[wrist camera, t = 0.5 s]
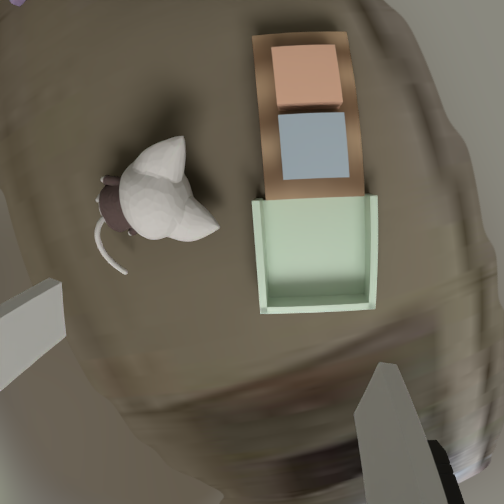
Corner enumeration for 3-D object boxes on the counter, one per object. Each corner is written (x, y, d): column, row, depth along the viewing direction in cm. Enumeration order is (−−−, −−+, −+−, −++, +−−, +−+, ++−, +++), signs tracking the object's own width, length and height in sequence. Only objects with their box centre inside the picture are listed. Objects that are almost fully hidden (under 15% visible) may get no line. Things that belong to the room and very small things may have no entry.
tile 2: (273, 57, 28) (271, 47, 25) (331, 55, 27) (334, 44, 24) (278, 110, 29) (277, 104, 26) (338, 108, 28) (342, 102, 25)
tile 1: (279, 120, 29) (277, 115, 26) (339, 117, 28) (344, 112, 25) (284, 179, 31) (283, 179, 28) (344, 176, 30) (349, 177, 27)
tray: (255, 198, 35) (251, 200, 32) (369, 193, 33) (377, 195, 30) (263, 301, 38) (260, 313, 35) (369, 297, 36) (375, 308, 33)
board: (256, 49, 31) (251, 36, 27) (341, 45, 29) (346, 31, 26) (269, 197, 35) (265, 200, 31) (357, 193, 34) (364, 196, 30)
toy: (142, 239, 43) (236, 226, 38) (109, 280, 37) (209, 276, 31) (101, 158, 36) (196, 122, 30) (56, 190, 30) (153, 152, 24)
